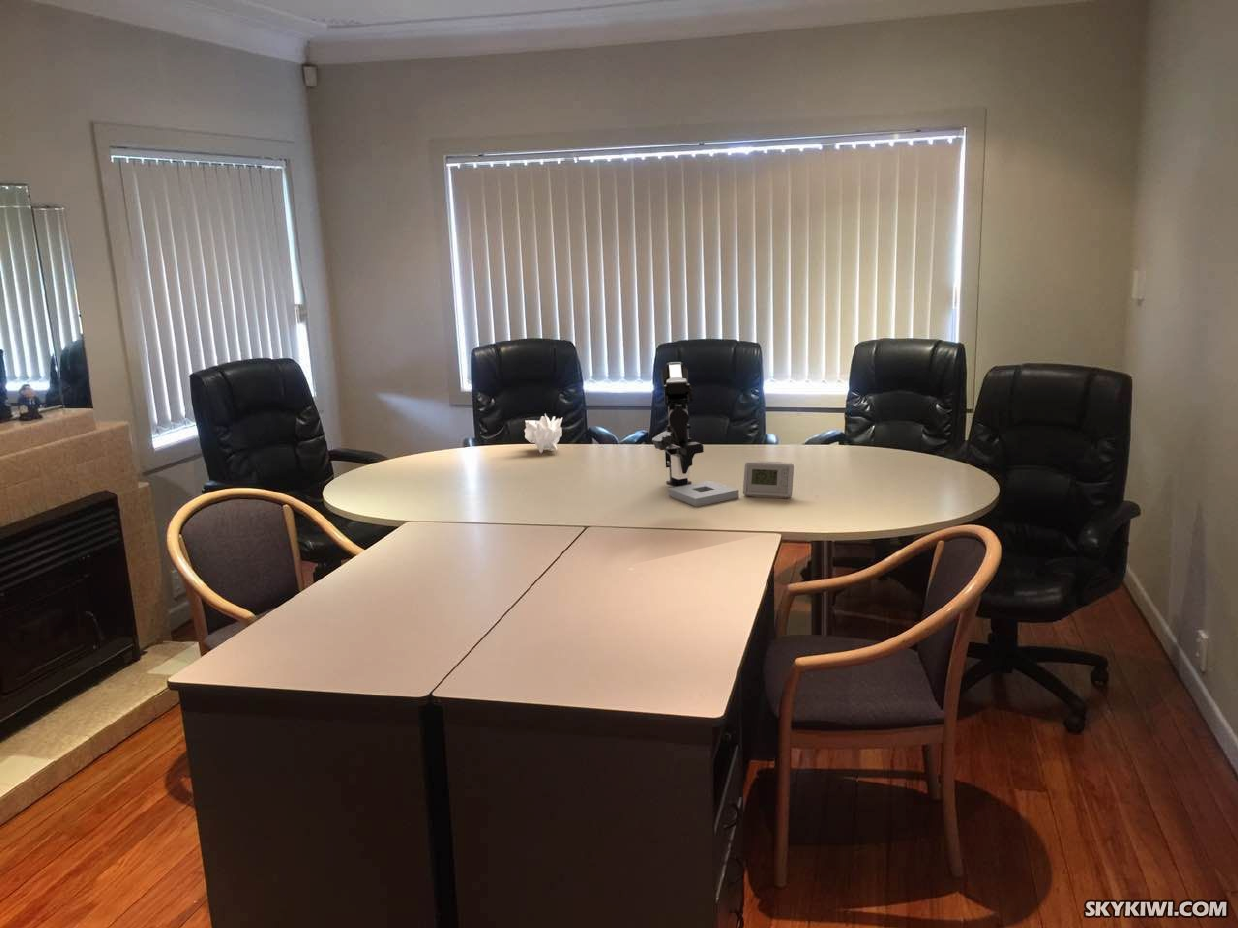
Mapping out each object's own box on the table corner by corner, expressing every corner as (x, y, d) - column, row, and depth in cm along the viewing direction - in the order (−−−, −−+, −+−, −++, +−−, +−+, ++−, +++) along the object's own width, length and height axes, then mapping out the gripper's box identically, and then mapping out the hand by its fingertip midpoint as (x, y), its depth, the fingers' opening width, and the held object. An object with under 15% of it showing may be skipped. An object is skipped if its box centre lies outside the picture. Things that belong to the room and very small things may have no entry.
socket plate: (669, 496, 332) (668, 488, 331) (710, 487, 339) (710, 480, 338) (695, 506, 318) (695, 498, 317) (738, 497, 325) (738, 490, 324)
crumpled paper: (576, 418, 407) (547, 399, 399) (562, 456, 401) (532, 438, 393) (549, 425, 423) (520, 408, 415) (535, 462, 416) (506, 445, 409)
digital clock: (739, 496, 327) (738, 463, 324) (753, 489, 334) (752, 457, 332) (786, 501, 318) (785, 468, 315) (798, 494, 325) (798, 461, 322)
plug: (671, 477, 314) (670, 448, 312) (682, 475, 316) (681, 446, 314) (678, 479, 310) (677, 450, 308) (689, 477, 312) (688, 448, 310)
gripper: (639, 421, 314) (642, 471, 317) (671, 430, 298) (673, 482, 301) (671, 416, 319) (673, 465, 322) (703, 424, 303) (705, 476, 306)
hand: (680, 472), depth 313 cm, fingers closed on plug, 4 cm apart
